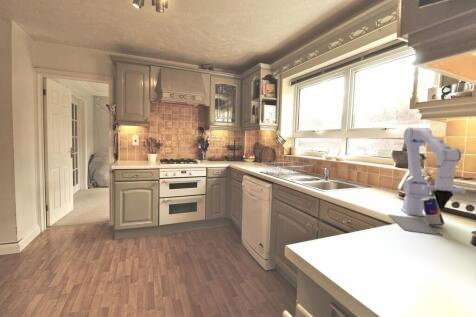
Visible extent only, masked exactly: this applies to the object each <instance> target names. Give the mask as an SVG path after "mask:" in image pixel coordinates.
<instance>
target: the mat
mask: <svg viewBox="0 0 476 317" xmlns="http://www.w3.org/2000/svg"><path fill="white" fill-rule="evenodd" d="M388 217H390V219H392V220H393V221H394V222H395V223H396V224H397V225H398V226H399V227H400V228H401V229H402V230H403V231H406V232H413V233H420V234H426V235H427V234H429V235H434V236H440V237H441V236H442V237H444V235H443V233H441V232H440V231H438V230H437V229H436V228H435V227H432V226H430V225H429V223H428V222H426V221H424V220H423V219H421V218H419V217H412V216H411V217H410V216H404V215H403V216H402V215H393V214H388Z"/></svg>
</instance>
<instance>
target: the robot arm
mask: <svg viewBox="0 0 476 317" xmlns="http://www.w3.org/2000/svg"><path fill="white" fill-rule="evenodd" d="M432 131H433V130H431V128H429V127H411V126H410V127H409V126H407V128H405V130H404V132H403V142H404V145H405V146H406V150H407V151H406V152H407V161H408V162H407V163H408V178H406V179H405V180H404V181H403V186H402V187H403V188H402V190H403V193H404V194H405V196H404V198H403V205H402V207H401V208H400V210H401V211H402V212H404V213H405V214H406V215H408V216H409V215H410V216H419V217H426V215H425V213H424V209H423V207H422V204H421V198H423V197H427V196H429V195H431V192H432V193H433V196H434V197H435V199H436V201H437V204H438V206H439V209H442V210H444V209H445V207H446V205H447V203H448V201H449V200H450V199H451V198H452V197H453V196H454V194H463V195H465V194H466V191H467V189H465V188H462V187H453V186H454V180H455V172H456V166H457V163H459V162H460V160H461V158H462V152H461V151H460V149H459V148H453V147H451V146H450V145H448V144H447V143H446V142H445V141H444V139H442V138H441V139H440V138H439V139H437V138H436V137H435V136H434V135H433V134H432ZM425 144H427V145H428V149H429V150H430V151H431V152H432V153H433V154H434V157H435V165H436V166H437V167H436V173H435V174H436V176H435V179H434V180H435V182H434V185H433V184H431V185H430V184H429V181H428V180H427V178H424V177H423V173H422V172H423V171H422V162H421V161H422V160H421V154H420V147H422V146H424V145H425Z"/></svg>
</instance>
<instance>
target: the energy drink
mask: <svg viewBox="0 0 476 317" xmlns="http://www.w3.org/2000/svg"><path fill="white" fill-rule="evenodd" d="M421 204H422V207H423V213H424V215H426V220H427V224H428V225H430V226H431V227H432V228H438V227H443V226H445V221H444V217H443V215H442V212H441V210H440V208H439V206H438V204H437V201H436V198H435V196H434V195H433V196H432V195H430V196H429V195H428V196H427V197H423V198H421Z"/></svg>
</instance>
